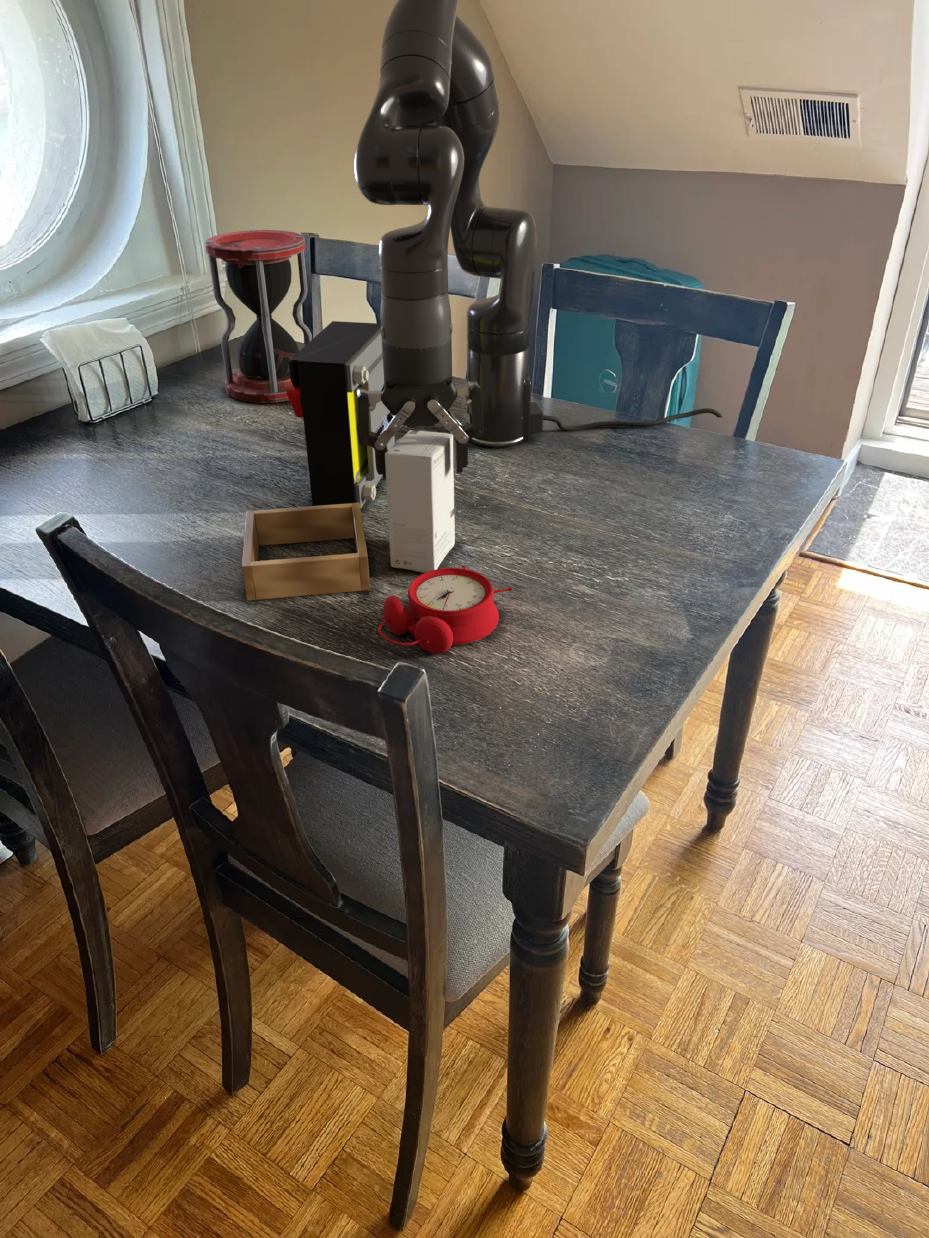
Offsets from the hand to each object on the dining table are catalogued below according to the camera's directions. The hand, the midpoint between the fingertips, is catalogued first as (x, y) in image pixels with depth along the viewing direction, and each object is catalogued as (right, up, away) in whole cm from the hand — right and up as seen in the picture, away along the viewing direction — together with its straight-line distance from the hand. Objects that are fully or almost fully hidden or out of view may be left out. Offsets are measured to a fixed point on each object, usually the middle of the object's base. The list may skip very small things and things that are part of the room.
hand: (422, 473), depth 110 cm
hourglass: (-29, +24, +57) cm, 69 cm away
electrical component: (-11, +2, +24) cm, 26 cm away
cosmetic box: (0, -9, +6) cm, 11 cm away
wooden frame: (-14, -11, +4) cm, 18 cm away
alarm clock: (+2, -18, -7) cm, 20 cm away
